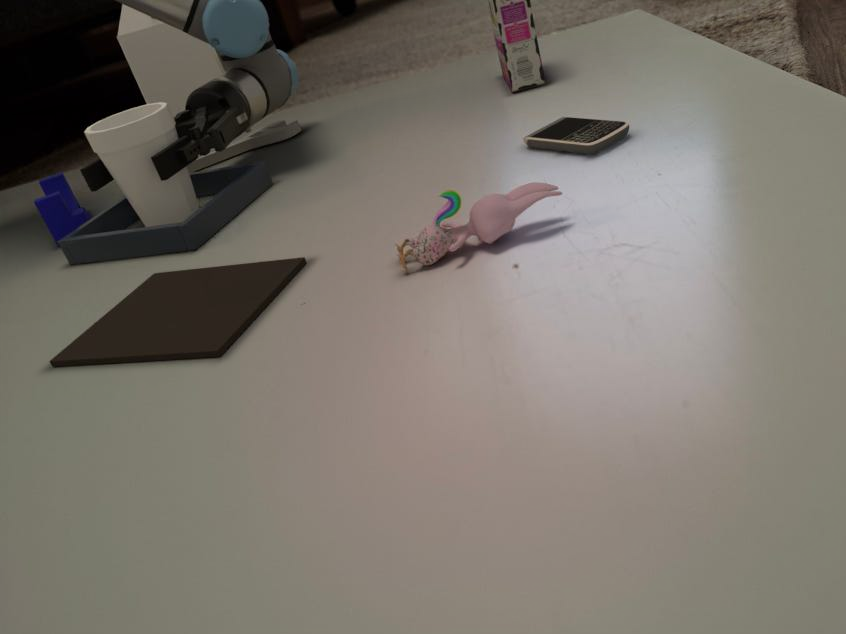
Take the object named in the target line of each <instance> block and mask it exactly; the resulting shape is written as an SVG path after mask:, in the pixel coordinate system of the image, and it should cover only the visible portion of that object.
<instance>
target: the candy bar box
mask: <svg viewBox="0 0 846 634" xmlns="http://www.w3.org/2000/svg"><path fill="white" fill-rule="evenodd" d="M486 5H487V9H488V14H489V18H490V23H491V28H492V33H493V38H494V41H495V47H496V51H497V57H498V61H499V65H500V68H501V74H502V77H503V78H504V80H505V83H506V84H507V85H508V87H509V89H510V91H511V92H512V93H517V92H520V91H521V92H522V91H524V90H528V89H529V90H530V89H532V88H536V87H540V86H543V85H545V84H546V78H545V73H544V68H543V62H542V55H541V51H540V46H539V41H538V36H537V29H536V25H535V20H534V19H535V18H534V14H533V9H532V3H531V0H486Z"/></svg>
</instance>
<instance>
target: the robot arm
mask: <svg viewBox="0 0 846 634" xmlns="http://www.w3.org/2000/svg"><path fill="white" fill-rule="evenodd" d="M114 1H115V2H117V3H120V4H124V5H126V6H128V7H130V8H133V9H135V10H137V11H139V12H141V13H144V14H146V15H148V16H150V17H152V18H155V19H157V20H159V21H161V22H163V23H166V24H168V25H170V26H172V27H174V28H177V29H179V30H181V31H183V32H185V33H187V34H189V35H191V36H193V37H195V38H197V39H199V40H201V41H204V42H206V43H208V44H210V45H211V46H212V47H214V48H215V49H216V50H217V51H218V52H219V54H220V57H221V60H222V61H223V64H224V67H225V69H226V72H224V73H222V74H221V75H219V76H217V77H215V78H214V79H212V80H210V81H209V82H208V83H206V84H204V85H202V86H201V87H199V88H197V89H196V90H194V91H193V92H192V93H191V94H190V95H189V96H188V98H187V101H186V106H185V111H182V112H180V113H178V114H176V116H175V117H174V120H175V122H176V124H175V128H176V131H177V135H178V138H179V139H178V140H177V141H175V142H174V143H172V144H171V145H169V146H168V147H166V148H165V149H163V150H162V151H160V152H158V153H157V154H155V155H154V156H152V157H151V160H152V162H153V164H154V166H155V168H156V170H157V172H158V175H159V177H160V179H161V181H164V180H168V179H169V178H170V177H172V176H173V175H175V174H176V173H178V172H179V171H180V170H182V169H183V168H185V167H186V166H188V165H189V164H190V163H192V162H193V161H195V160H196V159H197V158H198V155H200V156H205V155H207V154H209V153H210V151H211V150H213V149H215V151H216V152H218V151H219V152H221V151H223V150H224V149H225V148H226V147H227V146H228V145H229V144H230V143H231V142H234V141H235V139H238V137H240V136H241V135H242V134H244V133H245V134H249V133H251V131H252V127H253V126H254V125H255V124H257V123H258V122H261V120H263V119H264V118H266V117H267V116H268V115H270V114H272V113H273V112H274V111H276V110H278V109H281V108H282V107H283V106H285V105H286V104H287V102H288V101H290V100H291V98H292V97H293V96H294V95H295V94H296V92H297V90H298V88H299V85H300V74H299V70H298V67H297V65H296V63H295V61H294V60H293V59H291V57H290V56H289V55H288V54H287V53H286V52H285V51H283V50H281V49H277V47H276V44H275V43H274V40H273V38H272V36H271V33H270V29H269V28H270V22H269V20H270V17H269V15H268V11H267V10H266V7H265V6H264V4H263V2H262V1H261V0H114ZM79 171H80V173H81V175H82V177H83V179H84V180H85V183H86V185H87V187H88V188H89V190H90V192H91V193H94V192H98V191H99V190H101V189H102V188H104V187H105V186H106V185H108V184H110V183H111V182H113V181H115V180H114V178H113V177H112V175H111V174H110V172H109V171H108V169H107V168H106V166H105V165H104V163H103V162H102V160H101V159H100V157H98V158H96V159H95V160H93V161H92V162H90V163H88V164H87V165H85V166H84V167H82V168H80V169H79Z"/></svg>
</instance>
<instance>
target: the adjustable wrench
mask: <svg viewBox="0 0 846 634" xmlns="http://www.w3.org/2000/svg"><path fill="white" fill-rule="evenodd" d="M301 131H302V128H301V125H300V123H299V120H297V119H296V120H294V121H292V122H289V123H288V124H287V122H286V120H285V119H284V120H283V119H282V120H278V121H276V122H272V123H269V124H267V125H264V126H262V127H258V128H256V129H255V130H254V131H252V132H250V133H248V134H247V135H246V136H244V137H242V138H239V139H237V140H233V141H232V142H231V143H230V144H229V145H228V146H227V147H226V148H225V149H224V150H223V151H221V152H219V151H218V152H216V151H215V149H214V148H212V149H211V151H210V153H209V154H207V155H205V156H200V155H198V158H197V159H196V160H195V161H193V162H192V163H190V164H189V165H188V166H187V168H188V171H189V173H192V172H198V171H200V170H201V169H204V168H206V167H209V166H212V165H214V164H217V163H219V162H223V161H225V160H227V159H230V158H232V157H234V156H237V155H240V154H242V153H245V152H248V151H251V150H253V149H257V148H260V147H263V146H267V145H271V144H274V143H279V142H282V141H285V140H288V139H290V138H292V137H294V136H295V135H297V134H299V133H300V132H301Z"/></svg>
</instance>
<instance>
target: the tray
mask: <svg viewBox="0 0 846 634" xmlns="http://www.w3.org/2000/svg"><path fill="white" fill-rule="evenodd" d="M189 175H190V178H191V181H192V185H193V188H194V191H195V195H196V198H200V197H207V196H213V197H212V198H211V199H210V200H208V201H207V202H206V203H204V204H203V205H202V206H200V207H199V209H198V210H197V211H196V212H194V213H193V214H192V215H191V216H189V217H188V218H187V219H186V220H184V221H183V222H180V223H172V224H165V225H157V226H149V227H146V226H143V227H136V228H135V227H134V228H128V227H129V226H130V225H132V224H133V223H134V222H136V221H137V220H139V219H140V217H139V216H138V214H137V213H136V211H135V210H134V208H133V207H132V205H131V204H130V202H129V201H128V199H127V198H126V196H125V195H123V196H122V197H121V198H119V199H118V200H116V201H115V202H114V203H112V204H111V205H109V206H107V207H106V208H104V209H103V210H102V211H100V212H99V213H97V214H96V215H94V216H92V217H93V218H91V219H90V220H88V221H87V222H86V223H84V224H83V225H81V226H80V227H78V228H77V229H75V230H74V231H72V232H71V233H69V234H68V235H66V236H65V237H64V238H62V239H61V240H59V241H58V244H59V246H60V247H59V248H60V249H61V251H62V253H63V255H64V257H65V258H66V260H67V262H68V264H69V265H70V266H71V265H81V264H88V263H99V262H106V261H115V260H123V259H131V258H132V259H133V258H140V257H149V256H158V255H165V254H173V253H183V252H190V251H191V252H192V251H197V250H198V249H199V248H200V247H202V245H204V243H206V242H207V241H208V240H210V239H211V238H212V237H213V236H214V235H216V233H218V232H219V231H220V230H221V229H222V228H223V227H224V226H226V225H227V224H228V223H229V222H230V221H231V220H232V219H234V218H235V217H236V216H237V215H238V214H240V213H241V212H242V211H244V209H245V208H247V207H248V206H249V205H251V203H252V202H254V201H255V200H256V199H257V198H259V196H260V195H262V194H264V193H265V191H266V190H268V189H269V188H270V187H271V186H272V185H273V184H274V182H273V179H272V177H271V174H270V172H269V169H268V166H267V164H266V161H264V160H262V161H256V162H255V161H254V162H250V163H248V162H247V163H243V164H235V165H230V166H223V167H218V168H211V169H205V170H197V171H194V172H192V173H189ZM127 228H128V229H127Z"/></svg>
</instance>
